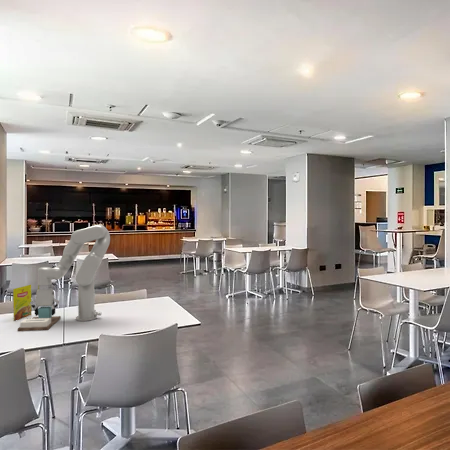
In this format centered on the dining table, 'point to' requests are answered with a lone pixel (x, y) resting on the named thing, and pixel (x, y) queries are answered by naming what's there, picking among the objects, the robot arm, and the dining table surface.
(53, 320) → the board
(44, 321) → the white tray
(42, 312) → the teal cube
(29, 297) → the food package
